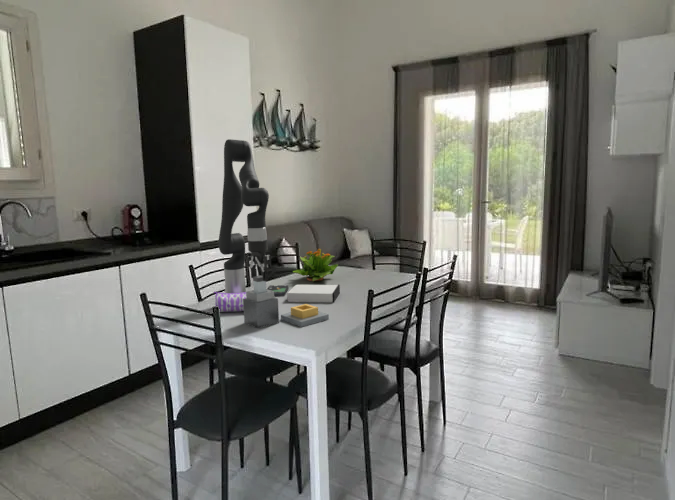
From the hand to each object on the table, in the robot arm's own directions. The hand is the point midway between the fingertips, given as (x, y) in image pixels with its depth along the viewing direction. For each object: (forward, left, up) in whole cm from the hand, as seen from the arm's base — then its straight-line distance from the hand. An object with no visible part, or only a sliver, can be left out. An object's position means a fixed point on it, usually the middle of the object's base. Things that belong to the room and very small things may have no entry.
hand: (259, 279), depth 181 cm
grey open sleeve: (0, 0, -18) cm, 18 cm away
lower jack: (+9, +15, -18) cm, 25 cm away
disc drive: (-16, +40, -19) cm, 47 cm away
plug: (0, 0, -8) cm, 8 cm away
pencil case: (-22, +3, -18) cm, 29 cm away
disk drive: (-38, +33, -19) cm, 54 cm away
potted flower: (-49, +66, -18) cm, 84 cm away
